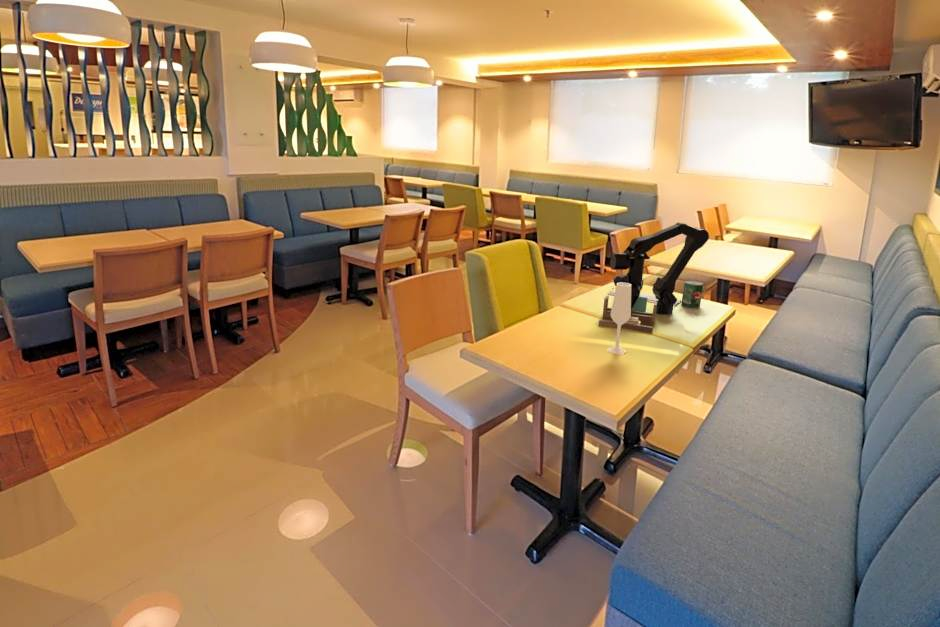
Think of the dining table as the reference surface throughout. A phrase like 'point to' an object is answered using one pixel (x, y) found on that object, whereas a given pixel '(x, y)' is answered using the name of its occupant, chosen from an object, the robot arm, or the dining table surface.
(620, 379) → the dining table surface
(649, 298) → the baseboard molding
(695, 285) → the canned tomato
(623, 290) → the champagne flute
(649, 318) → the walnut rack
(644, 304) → the teal sheet
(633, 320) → the upper offcut
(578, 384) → the dining table surface
